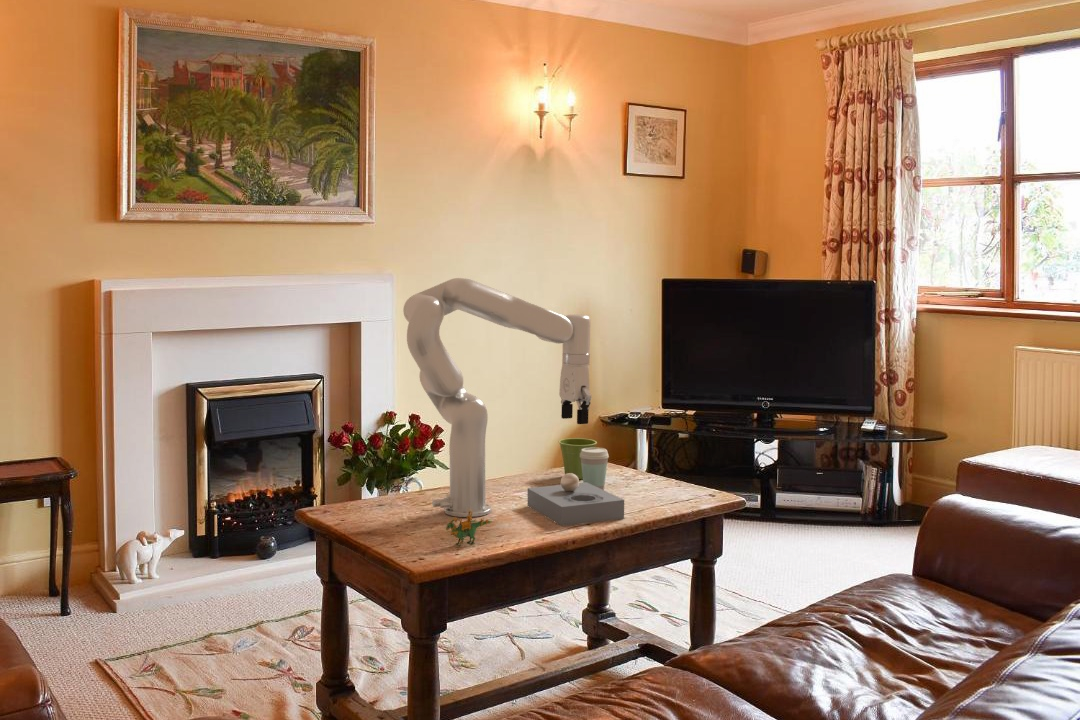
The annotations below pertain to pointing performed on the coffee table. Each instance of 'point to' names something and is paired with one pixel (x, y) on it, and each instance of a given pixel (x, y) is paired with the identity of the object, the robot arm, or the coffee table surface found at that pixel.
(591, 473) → the coffee cup
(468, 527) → the figurine
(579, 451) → the plant pot
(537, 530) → the coffee table surface
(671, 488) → the coffee table surface
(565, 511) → the grey flat block
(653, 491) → the coffee table surface
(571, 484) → the ball
